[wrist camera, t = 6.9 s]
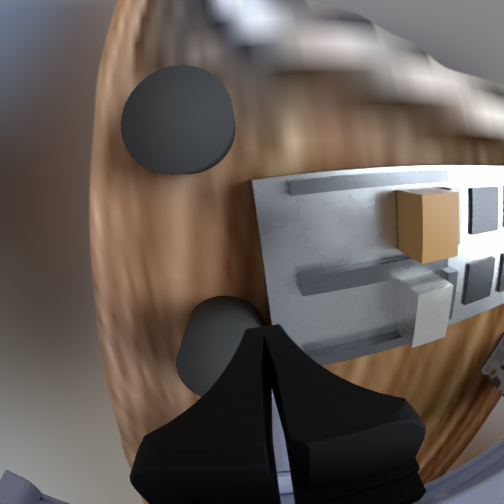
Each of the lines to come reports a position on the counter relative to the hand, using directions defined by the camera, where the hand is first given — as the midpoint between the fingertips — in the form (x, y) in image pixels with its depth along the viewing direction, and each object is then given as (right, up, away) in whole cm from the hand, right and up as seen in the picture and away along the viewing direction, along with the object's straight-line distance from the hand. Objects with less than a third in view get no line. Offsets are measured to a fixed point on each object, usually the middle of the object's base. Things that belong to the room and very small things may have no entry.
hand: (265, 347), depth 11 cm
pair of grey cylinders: (-4, +5, +9) cm, 11 cm away
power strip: (+13, +4, +10) cm, 17 cm away
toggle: (+10, +6, +6) cm, 14 cm away
